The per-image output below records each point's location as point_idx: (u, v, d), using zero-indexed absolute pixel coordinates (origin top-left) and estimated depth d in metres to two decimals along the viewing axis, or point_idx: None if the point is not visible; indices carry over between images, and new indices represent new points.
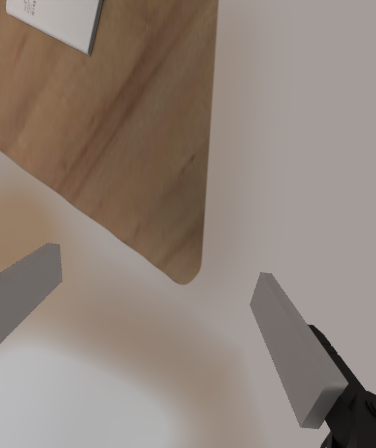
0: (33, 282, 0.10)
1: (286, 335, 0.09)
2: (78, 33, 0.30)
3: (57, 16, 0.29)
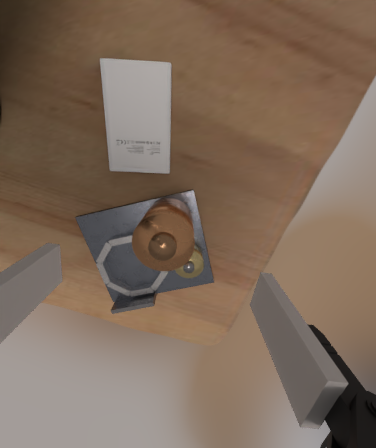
0: (33, 282, 0.10)
1: (286, 335, 0.09)
2: (154, 80, 0.23)
3: (149, 112, 0.24)
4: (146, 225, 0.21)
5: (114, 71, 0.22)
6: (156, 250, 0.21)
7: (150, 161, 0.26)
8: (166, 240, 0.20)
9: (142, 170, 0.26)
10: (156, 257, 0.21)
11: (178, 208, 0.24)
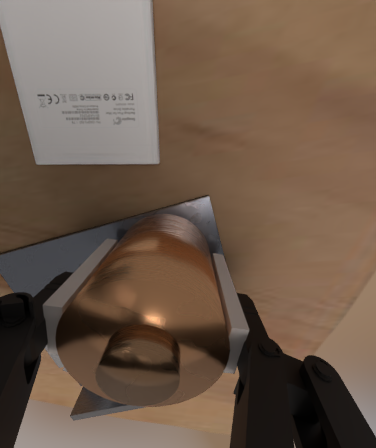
0: None
1: None
2: None
3: (102, 22, 0.10)
4: (89, 311, 0.07)
5: None
6: (122, 384, 0.07)
7: (116, 140, 0.12)
8: (148, 360, 0.07)
9: (102, 160, 0.13)
10: (124, 400, 0.07)
11: (180, 242, 0.10)
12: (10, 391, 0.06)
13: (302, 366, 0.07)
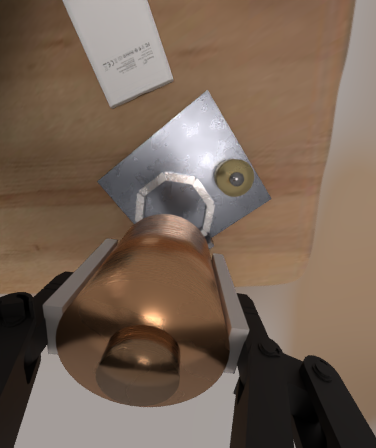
0: None
1: None
2: None
3: (124, 10, 0.20)
4: (90, 311, 0.07)
5: None
6: (122, 385, 0.07)
7: (147, 73, 0.22)
8: (148, 361, 0.07)
9: (143, 88, 0.22)
10: (124, 400, 0.07)
11: (180, 243, 0.10)
12: (10, 391, 0.06)
13: (302, 366, 0.07)
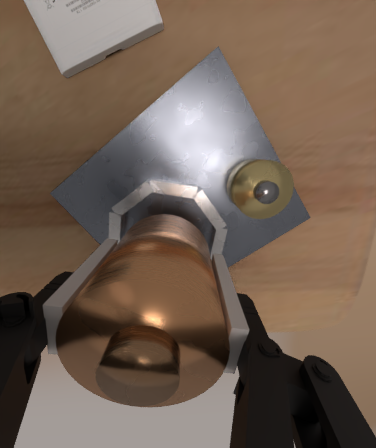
0: None
1: None
2: None
3: None
4: (90, 311, 0.07)
5: None
6: (122, 385, 0.07)
7: (118, 12, 0.13)
8: (148, 361, 0.07)
9: (113, 40, 0.13)
10: (124, 400, 0.07)
11: (180, 243, 0.10)
12: (10, 391, 0.06)
13: (302, 366, 0.07)
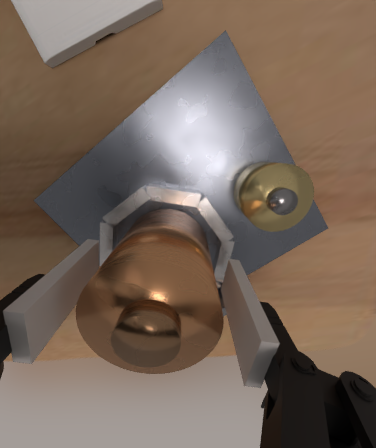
0: (81, 273, 0.12)
1: (241, 310, 0.10)
2: None
3: None
4: (105, 287, 0.09)
5: None
6: (133, 348, 0.08)
7: None
8: (154, 326, 0.08)
9: (103, 22, 0.11)
10: (134, 362, 0.09)
11: (181, 233, 0.12)
12: None
13: (339, 382, 0.07)
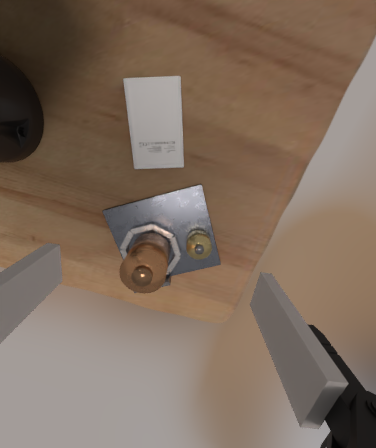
0: (33, 282, 0.10)
1: (286, 335, 0.09)
2: (167, 91, 0.28)
3: (164, 118, 0.29)
4: (135, 258, 0.28)
5: (134, 87, 0.28)
6: (137, 278, 0.28)
7: (167, 158, 0.31)
8: (146, 273, 0.28)
9: (161, 166, 0.32)
10: (135, 282, 0.29)
11: (161, 248, 0.32)
12: None
13: None
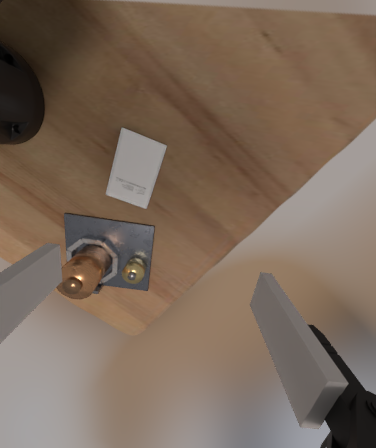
0: (33, 282, 0.10)
1: (286, 335, 0.09)
2: (153, 151, 0.34)
3: (144, 168, 0.35)
4: (72, 270, 0.34)
5: (128, 137, 0.34)
6: (67, 286, 0.34)
7: (135, 197, 0.37)
8: (76, 286, 0.34)
9: (128, 201, 0.38)
10: (64, 288, 0.34)
11: (100, 266, 0.38)
12: None
13: None
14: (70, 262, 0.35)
